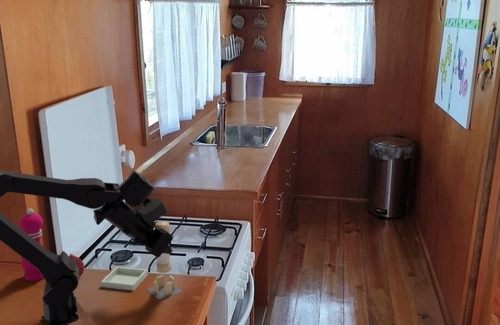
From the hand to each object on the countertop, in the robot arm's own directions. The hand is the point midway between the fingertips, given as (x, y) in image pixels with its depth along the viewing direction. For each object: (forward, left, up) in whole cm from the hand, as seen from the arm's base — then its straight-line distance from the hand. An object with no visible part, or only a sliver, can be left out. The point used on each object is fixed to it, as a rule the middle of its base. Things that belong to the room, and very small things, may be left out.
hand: (167, 250), depth 126 cm
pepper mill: (-19, +35, -13) cm, 42 cm away
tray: (-5, +12, -12) cm, 18 cm away
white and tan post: (-1, 0, -5) cm, 5 cm away
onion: (-13, +25, -13) cm, 31 cm away
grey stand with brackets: (-1, 0, -12) cm, 13 cm away
